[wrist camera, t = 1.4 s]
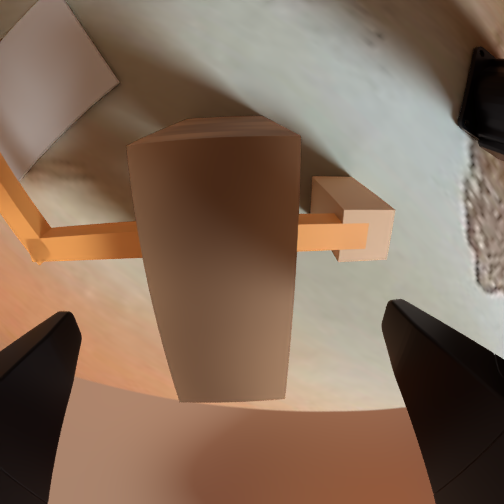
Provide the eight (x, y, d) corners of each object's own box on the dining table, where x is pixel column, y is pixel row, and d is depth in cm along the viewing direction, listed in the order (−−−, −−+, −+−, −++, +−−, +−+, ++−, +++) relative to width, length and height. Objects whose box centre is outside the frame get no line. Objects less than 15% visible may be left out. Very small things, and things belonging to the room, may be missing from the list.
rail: (-25, 27, 10) (-77, 25, 5) (392, 72, 14) (450, 69, 9) (-40, 196, 15) (-86, 226, 11) (327, 269, 20) (354, 324, 15)
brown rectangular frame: (262, 115, 16) (300, 136, 7) (262, 267, 20) (285, 398, 11) (186, 119, 15) (126, 145, 6) (198, 269, 20) (179, 402, 11)
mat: (120, 82, 14) (118, 82, 14) (-4, 211, 16) (-6, 212, 16) (56, -13, 10) (54, -14, 10) (-53, 123, 13) (-55, 124, 12)
